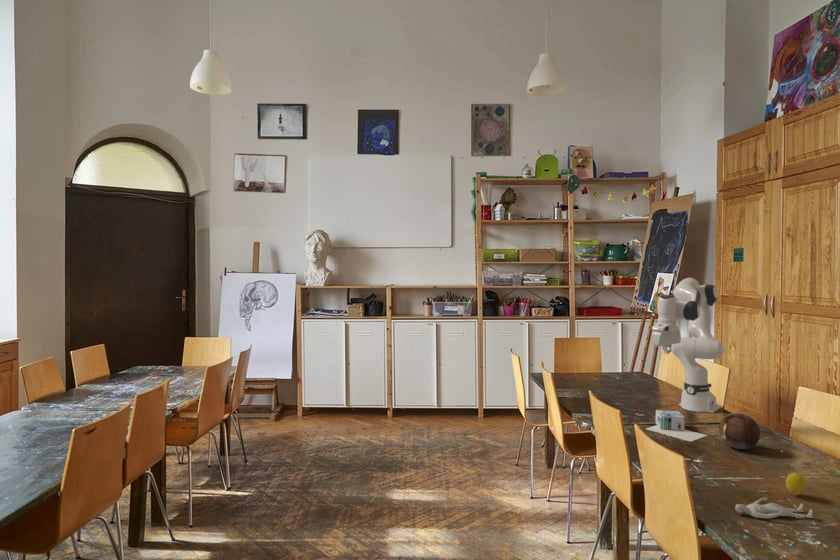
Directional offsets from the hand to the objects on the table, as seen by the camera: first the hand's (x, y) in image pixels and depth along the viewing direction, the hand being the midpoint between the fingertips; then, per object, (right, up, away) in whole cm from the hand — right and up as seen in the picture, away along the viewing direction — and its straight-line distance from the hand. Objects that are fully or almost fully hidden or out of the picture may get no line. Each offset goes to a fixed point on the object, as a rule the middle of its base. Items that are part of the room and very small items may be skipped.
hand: (667, 353), depth 261 cm
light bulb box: (+1, -31, -13) cm, 34 cm away
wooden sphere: (+11, -35, -41) cm, 55 cm away
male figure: (-15, -37, -100) cm, 108 cm away
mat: (-5, -35, -20) cm, 40 cm away
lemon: (+2, -36, -87) cm, 94 cm away
